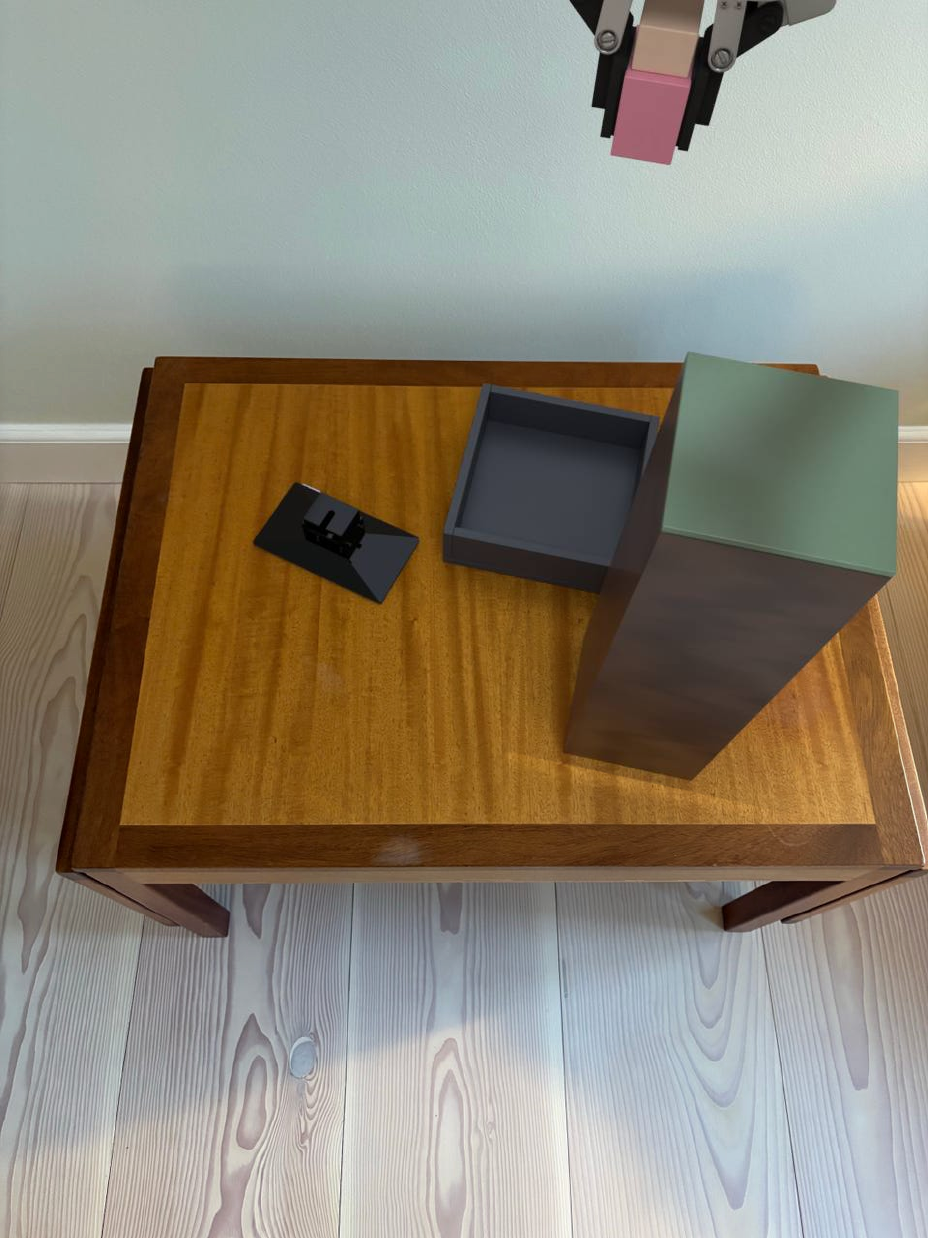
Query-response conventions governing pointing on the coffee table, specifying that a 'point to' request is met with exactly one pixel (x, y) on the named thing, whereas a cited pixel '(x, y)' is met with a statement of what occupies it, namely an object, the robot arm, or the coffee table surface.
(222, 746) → the coffee table surface
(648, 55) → the pink block
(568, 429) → the basin
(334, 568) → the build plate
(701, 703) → the stand
